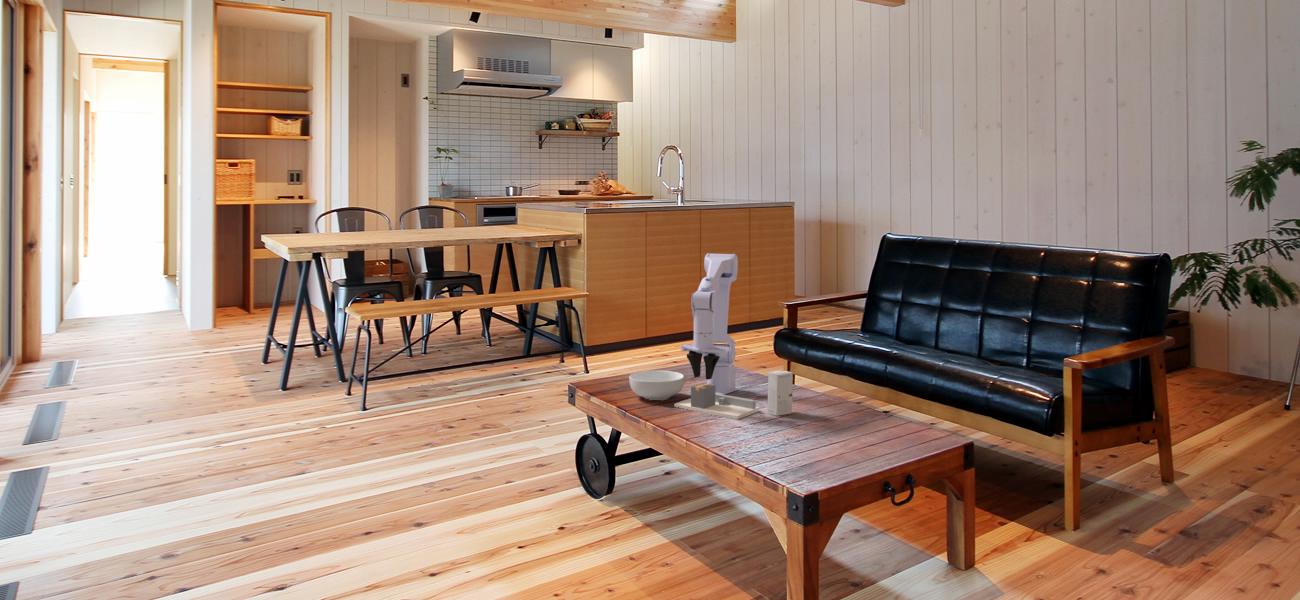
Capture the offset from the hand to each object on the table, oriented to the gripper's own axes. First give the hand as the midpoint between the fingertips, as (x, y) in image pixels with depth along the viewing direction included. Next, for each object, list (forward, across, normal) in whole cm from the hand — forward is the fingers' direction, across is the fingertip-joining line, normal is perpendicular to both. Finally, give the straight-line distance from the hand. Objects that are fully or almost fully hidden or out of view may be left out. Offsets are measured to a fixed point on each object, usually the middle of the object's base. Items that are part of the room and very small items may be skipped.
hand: (703, 377), depth 249 cm
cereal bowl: (+10, -19, +2) cm, 21 cm away
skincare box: (+10, +20, +10) cm, 24 cm away
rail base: (+9, +3, +3) cm, 10 cm away
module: (+8, 0, 0) cm, 8 cm away
